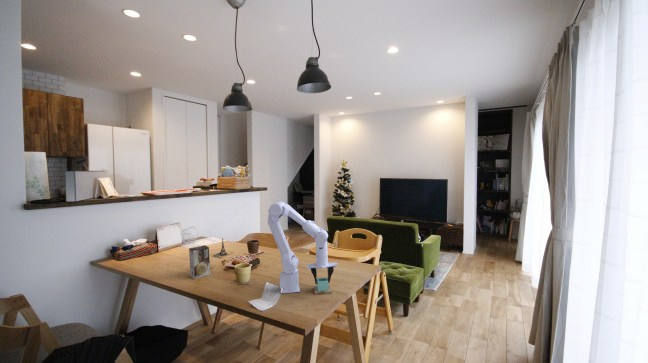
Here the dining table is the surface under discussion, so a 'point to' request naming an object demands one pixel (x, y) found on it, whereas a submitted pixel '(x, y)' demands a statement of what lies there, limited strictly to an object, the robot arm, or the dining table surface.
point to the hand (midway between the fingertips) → (322, 282)
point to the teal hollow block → (322, 284)
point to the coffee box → (199, 261)
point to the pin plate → (322, 291)
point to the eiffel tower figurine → (221, 251)
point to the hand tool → (254, 261)
